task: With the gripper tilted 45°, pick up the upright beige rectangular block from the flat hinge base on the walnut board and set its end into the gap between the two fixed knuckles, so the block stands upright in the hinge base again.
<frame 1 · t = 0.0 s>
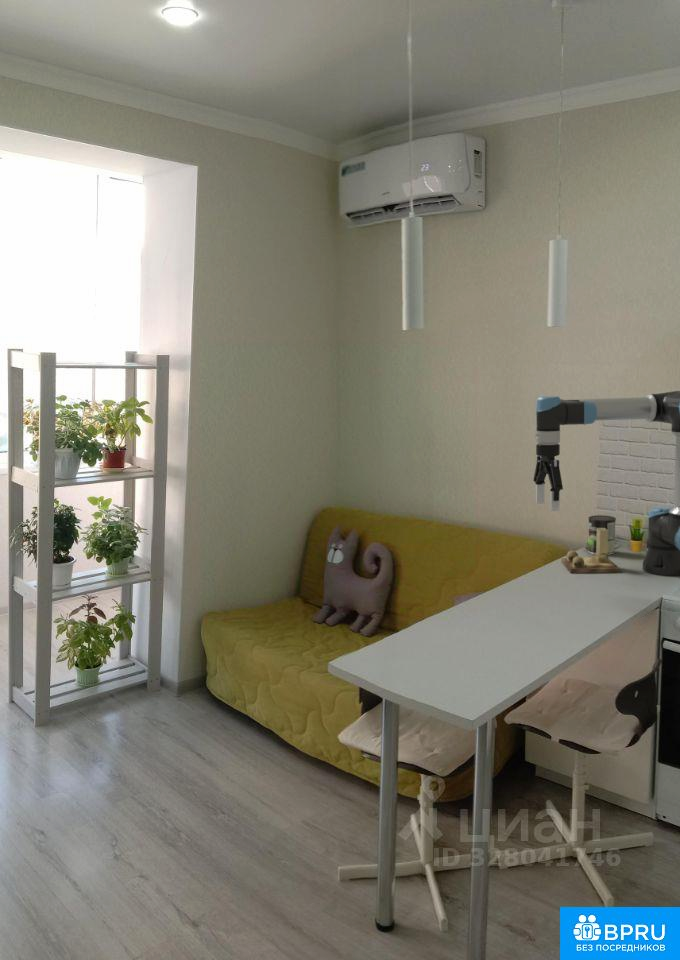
hand: (547, 507, 272), 28 cm above the breakfast bar, tool pointing down, fingers open, 13 cm apart
beige rectangular block: (601, 561, 301), point 2 cm above the breakfast bar, touching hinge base
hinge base: (575, 567, 302), on the breakfast bar
coffee can: (601, 553, 324), on the breakfast bar
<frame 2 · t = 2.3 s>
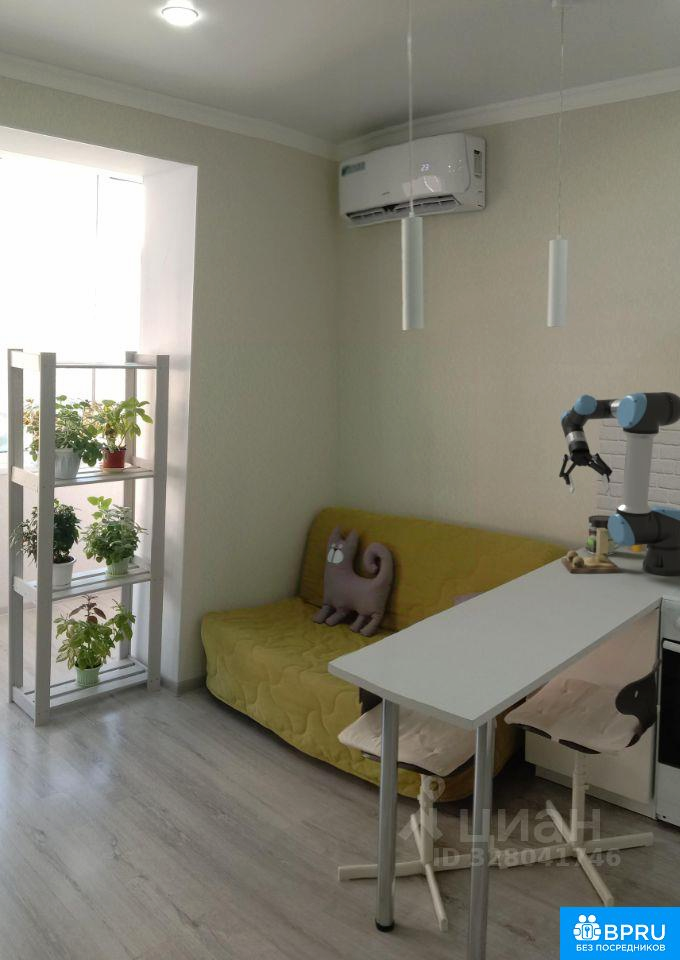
hand: (590, 490, 307), 27 cm above the breakfast bar, tool tilted 45°, fingers open, 13 cm apart
nothing on the breakfast bar moved.
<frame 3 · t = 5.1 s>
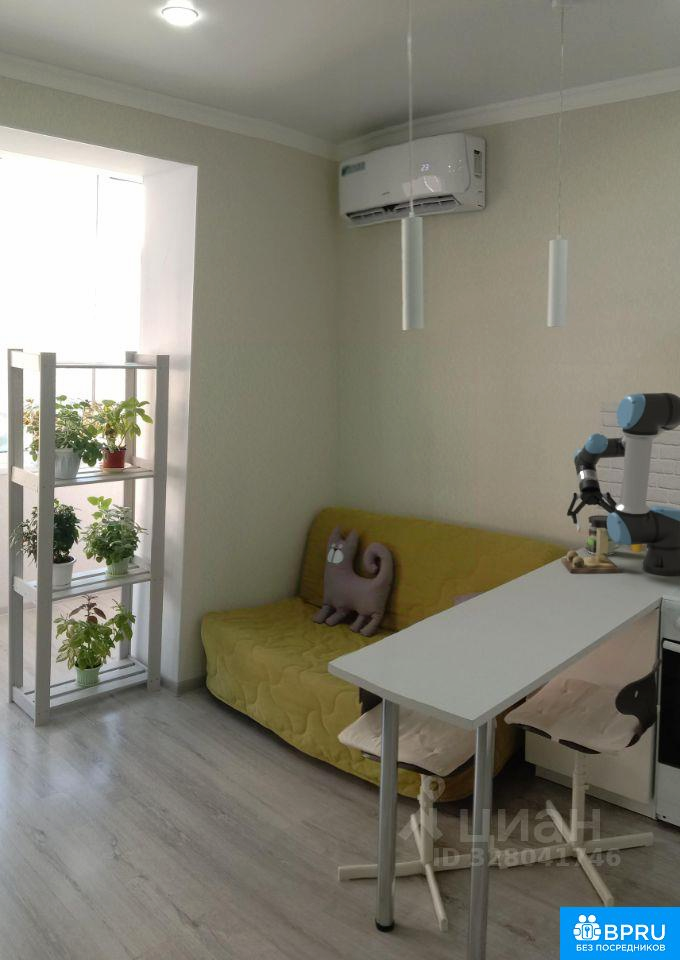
hand: (597, 529, 304), 13 cm above the breakfast bar, tool tilted 45°, fingers open, 13 cm apart
nothing on the breakfast bar moved.
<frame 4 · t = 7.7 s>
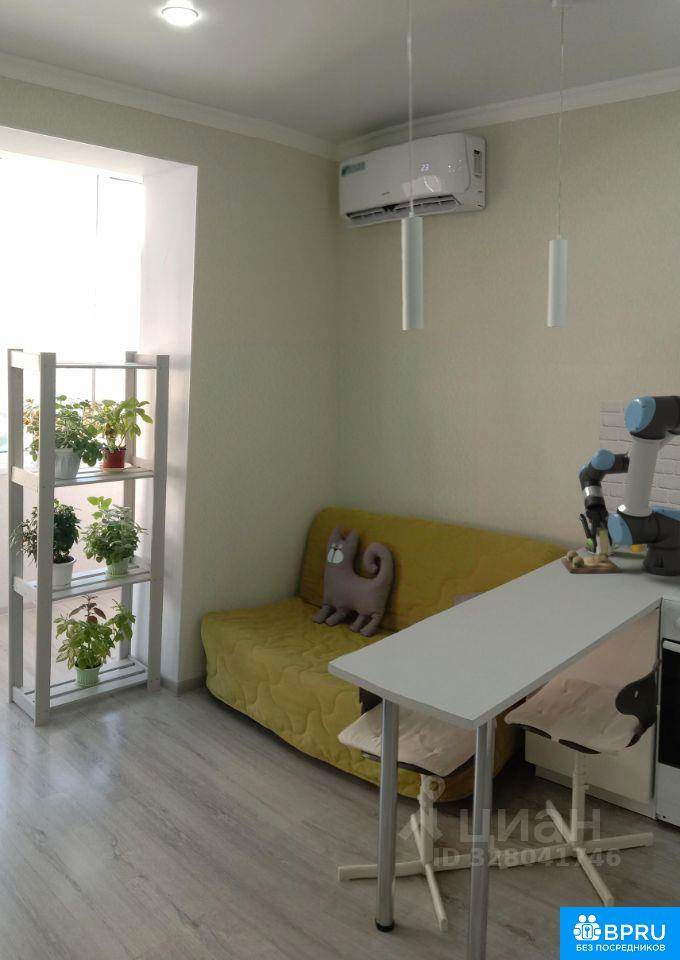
hand: (604, 553, 297), 6 cm above the breakfast bar, tool tilted 45°, fingers closed on beige rectangular block, 3 cm apart
beige rectangular block: (601, 561, 301), point 2 cm above the breakfast bar, touching gripper, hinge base
everything else where it was.
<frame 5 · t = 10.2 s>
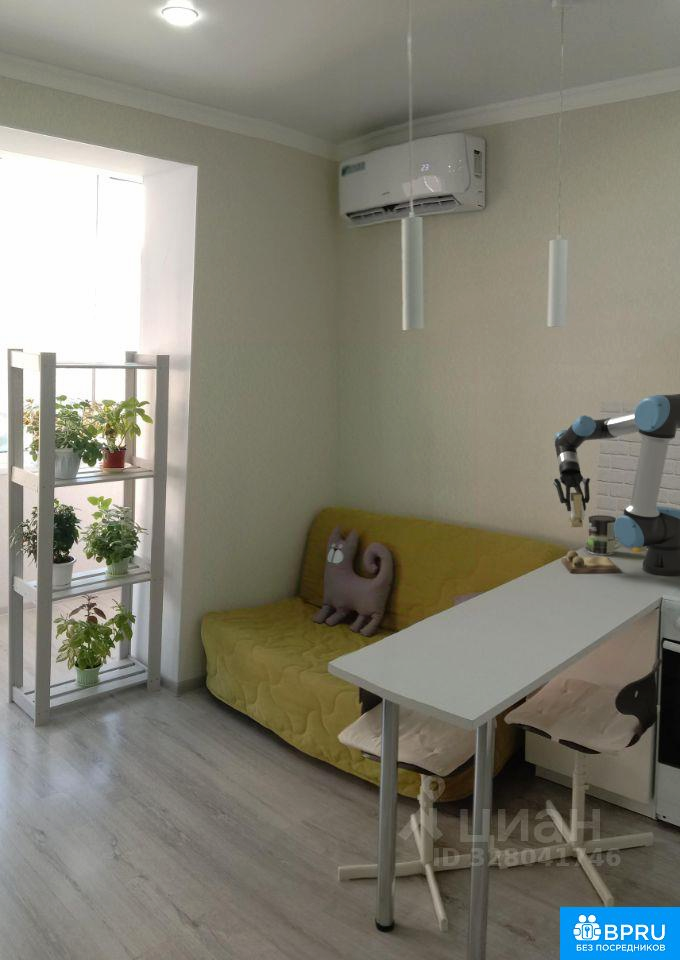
hand: (578, 517, 295), 20 cm above the breakfast bar, tool tilted 45°, fingers closed on beige rectangular block, 3 cm apart
beige rectangular block: (575, 525, 300), point 16 cm above the breakfast bar, touching gripper
everything else where it was.
when the fingers open (6 cm above the breakfast bar, at t = 12.7 s): beige rectangular block stays where it is, resting on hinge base.
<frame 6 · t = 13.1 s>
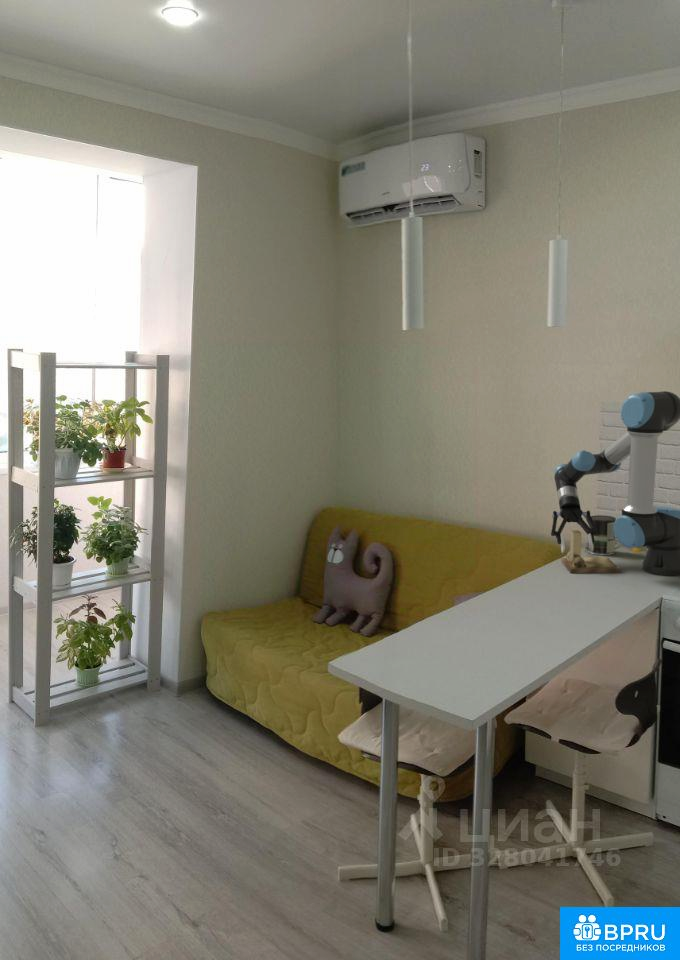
hand: (577, 550, 298), 7 cm above the breakfast bar, tool tilted 45°, fingers open, 9 cm apart
beige rectangular block: (575, 563, 302), point 1 cm above the breakfast bar, touching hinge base
everything else where it was.
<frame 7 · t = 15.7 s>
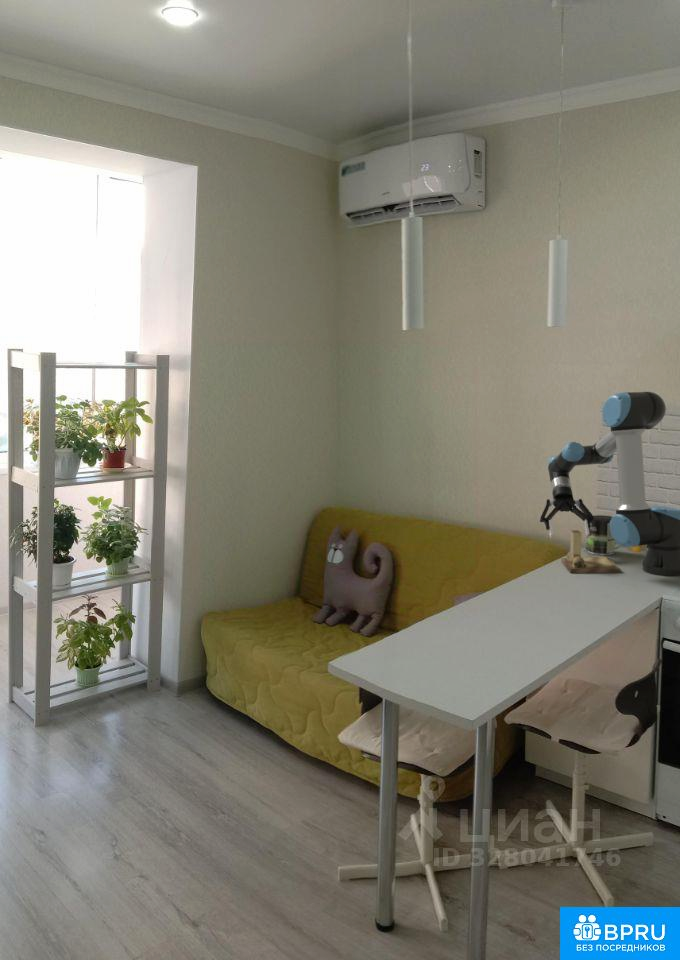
hand: (569, 536, 310), 10 cm above the breakfast bar, tool tilted 45°, fingers open, 13 cm apart
nothing on the breakfast bar moved.
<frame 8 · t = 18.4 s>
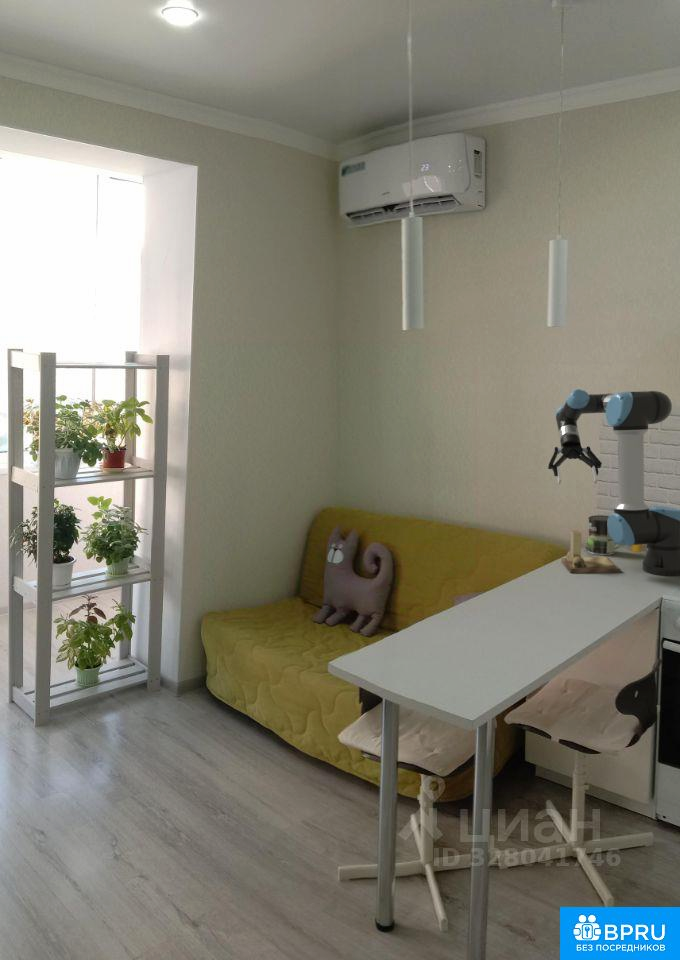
hand: (577, 481, 313), 30 cm above the breakfast bar, tool tilted 45°, fingers open, 13 cm apart
nothing on the breakfast bar moved.
at the end: beige rectangular block 0.1 cm off-centre on the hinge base, point 1.5 cm above the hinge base's base; beige rectangular block tilted 0°; the gripper is holding nothing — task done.
